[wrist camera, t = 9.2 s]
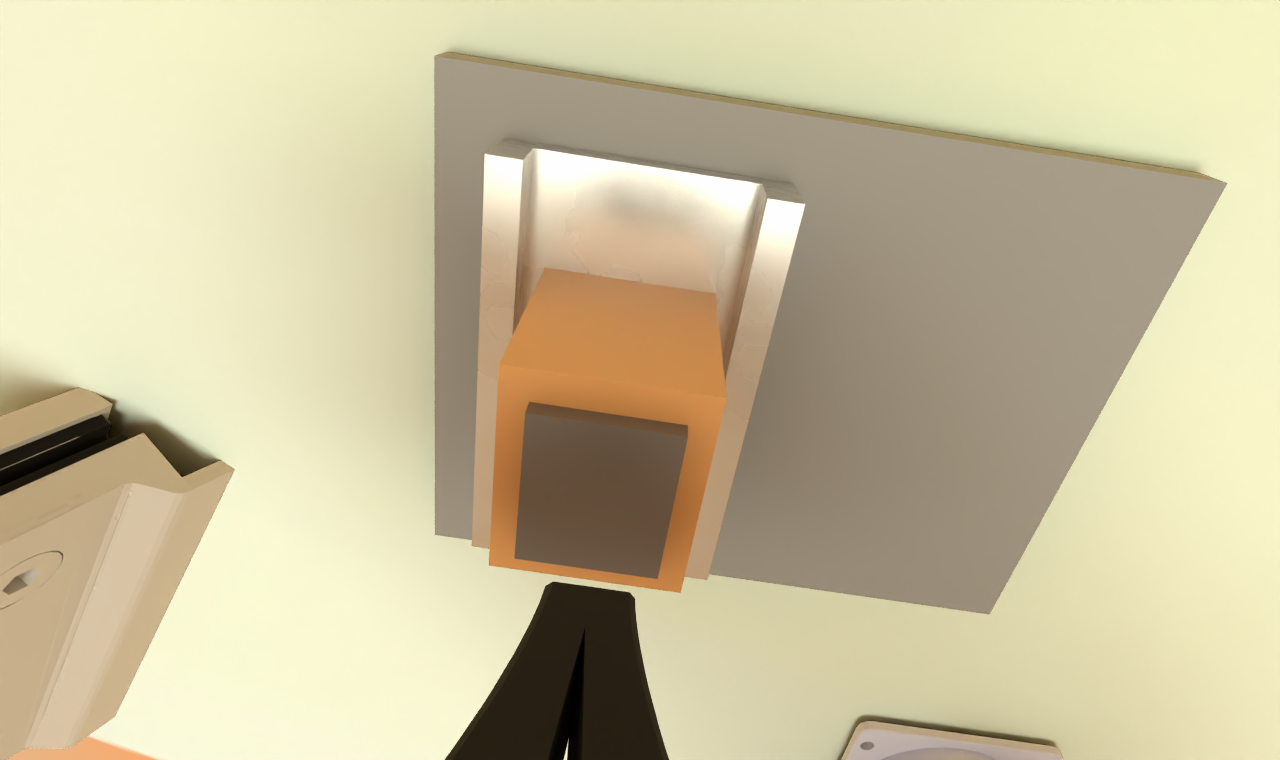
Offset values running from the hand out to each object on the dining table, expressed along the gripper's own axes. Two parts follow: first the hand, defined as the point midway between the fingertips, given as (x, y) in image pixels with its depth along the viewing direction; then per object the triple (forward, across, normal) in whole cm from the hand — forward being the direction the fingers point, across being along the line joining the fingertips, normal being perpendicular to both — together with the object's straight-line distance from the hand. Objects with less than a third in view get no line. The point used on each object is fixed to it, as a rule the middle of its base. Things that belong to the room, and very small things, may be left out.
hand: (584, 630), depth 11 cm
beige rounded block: (+10, +19, +12) cm, 25 cm away
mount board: (+10, -4, 0) cm, 11 cm away
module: (+8, 0, 0) cm, 8 cm away
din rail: (+10, 0, 0) cm, 10 cm away
